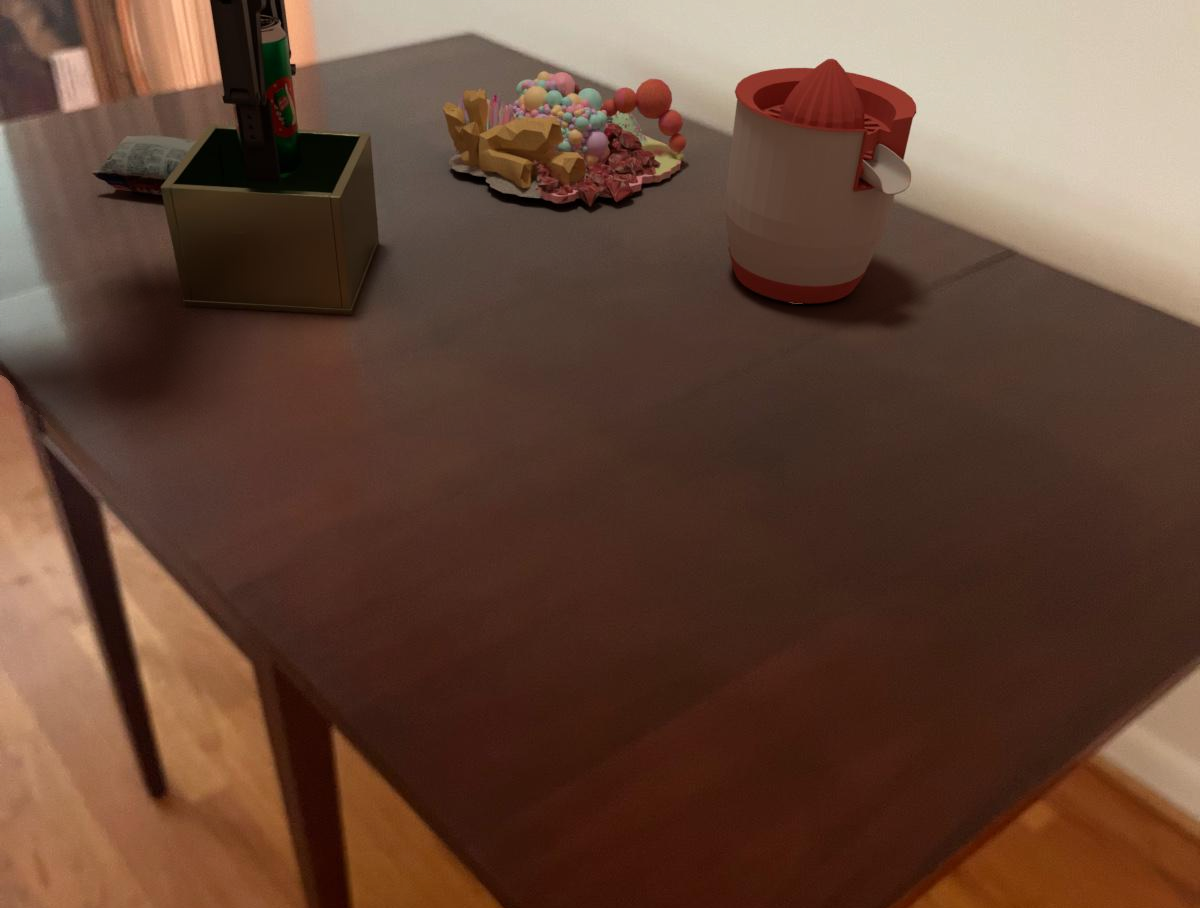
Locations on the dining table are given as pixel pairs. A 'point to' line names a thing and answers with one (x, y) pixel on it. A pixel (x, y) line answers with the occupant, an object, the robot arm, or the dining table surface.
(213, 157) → the bin
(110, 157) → the packaged food
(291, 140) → the soda can
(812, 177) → the citrus juicer
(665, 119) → the food platter
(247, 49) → the robot arm
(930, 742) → the dining table surface
